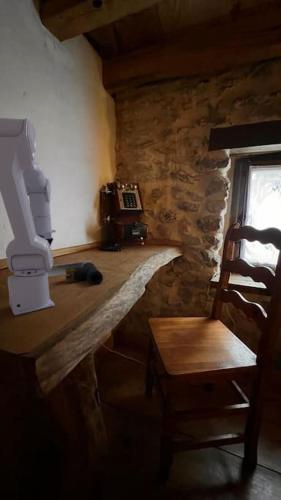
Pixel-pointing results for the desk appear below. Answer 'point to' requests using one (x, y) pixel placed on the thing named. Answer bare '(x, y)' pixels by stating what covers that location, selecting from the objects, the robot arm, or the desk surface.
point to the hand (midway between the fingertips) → (44, 259)
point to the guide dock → (64, 268)
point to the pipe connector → (84, 274)
